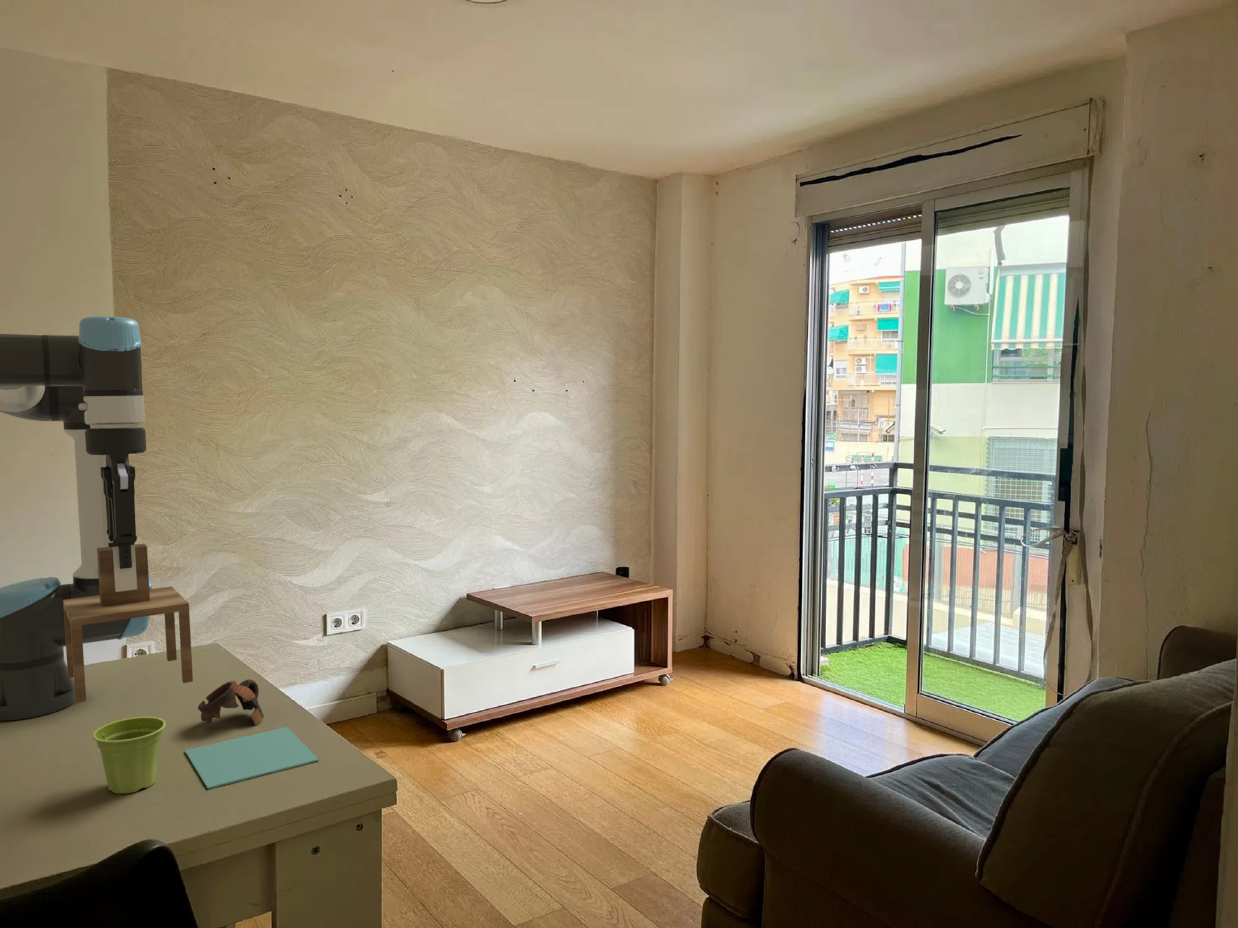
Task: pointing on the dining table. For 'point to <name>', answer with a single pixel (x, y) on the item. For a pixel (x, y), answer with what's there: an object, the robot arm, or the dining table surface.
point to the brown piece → (124, 614)
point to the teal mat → (249, 757)
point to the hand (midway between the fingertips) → (124, 587)
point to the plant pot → (130, 752)
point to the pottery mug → (232, 700)
